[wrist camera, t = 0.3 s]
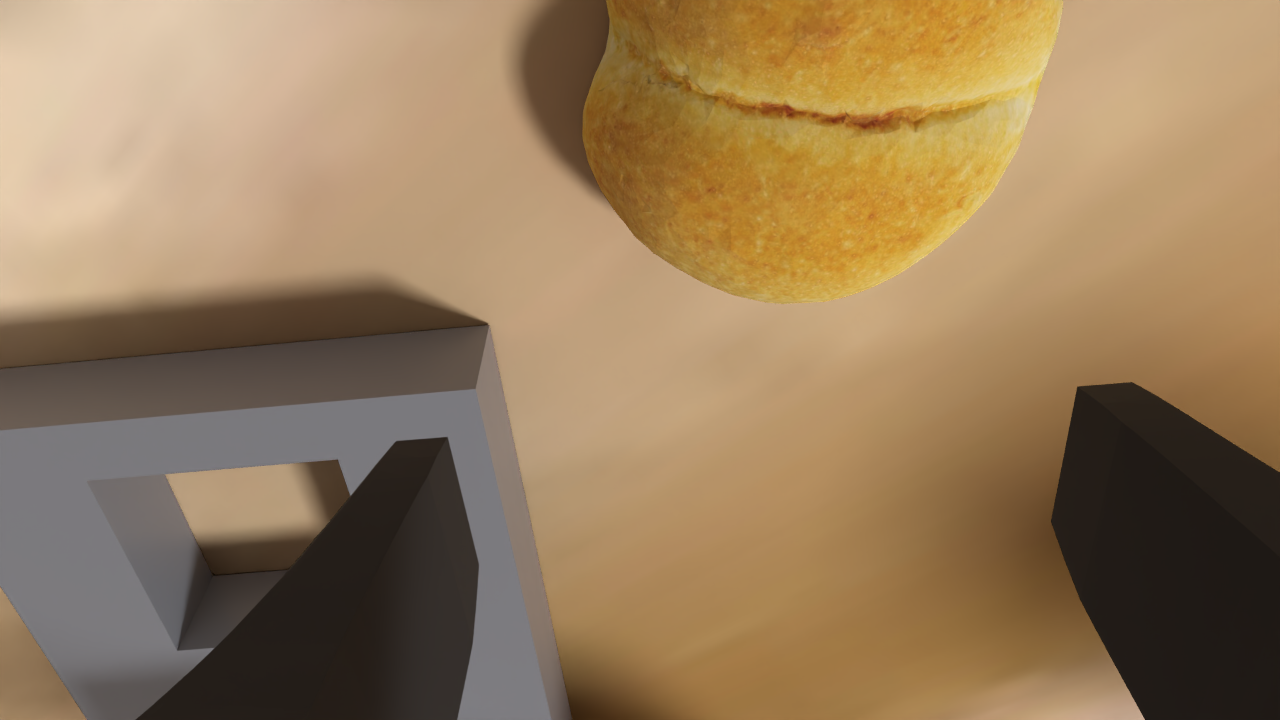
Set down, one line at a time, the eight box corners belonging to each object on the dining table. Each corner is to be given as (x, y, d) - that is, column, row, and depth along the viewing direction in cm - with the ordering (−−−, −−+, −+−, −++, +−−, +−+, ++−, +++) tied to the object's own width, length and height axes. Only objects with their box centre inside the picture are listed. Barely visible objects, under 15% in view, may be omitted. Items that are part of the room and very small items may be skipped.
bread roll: (566, 232, 21) (556, 330, 18) (638, -254, 16) (643, -247, 13) (932, 287, 22) (988, 390, 18) (1104, -157, 17) (1224, -127, 14)
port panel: (579, 755, 31) (576, 834, 28) (207, 782, 31) (177, 862, 29) (489, 324, 22) (475, 391, 20) (-29, 371, 22) (-99, 441, 20)
